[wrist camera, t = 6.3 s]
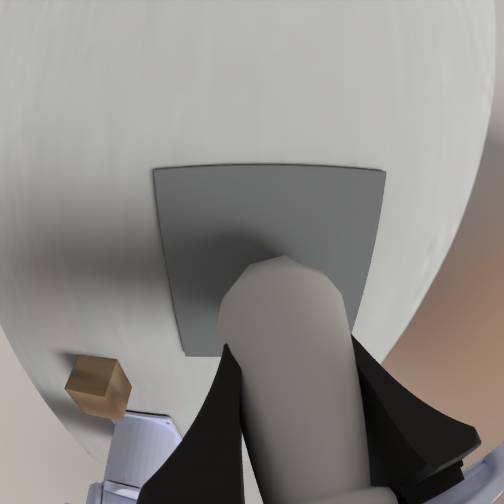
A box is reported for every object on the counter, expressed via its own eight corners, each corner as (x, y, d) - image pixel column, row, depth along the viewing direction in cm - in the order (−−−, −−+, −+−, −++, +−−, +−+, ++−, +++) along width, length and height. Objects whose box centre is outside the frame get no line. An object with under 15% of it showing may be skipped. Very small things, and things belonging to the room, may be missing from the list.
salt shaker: (252, 341, 16) (273, 560, 5) (197, 274, 13) (168, 575, 2) (342, 301, 15) (426, 523, 4) (304, 219, 12) (445, 549, 1)
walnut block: (132, 385, 21) (123, 421, 18) (96, 380, 21) (85, 413, 17) (117, 358, 19) (104, 397, 16) (79, 354, 19) (64, 388, 16)
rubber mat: (345, 343, 19) (346, 347, 19) (186, 352, 19) (185, 356, 18) (382, 170, 13) (386, 172, 13) (155, 168, 13) (153, 170, 12)
